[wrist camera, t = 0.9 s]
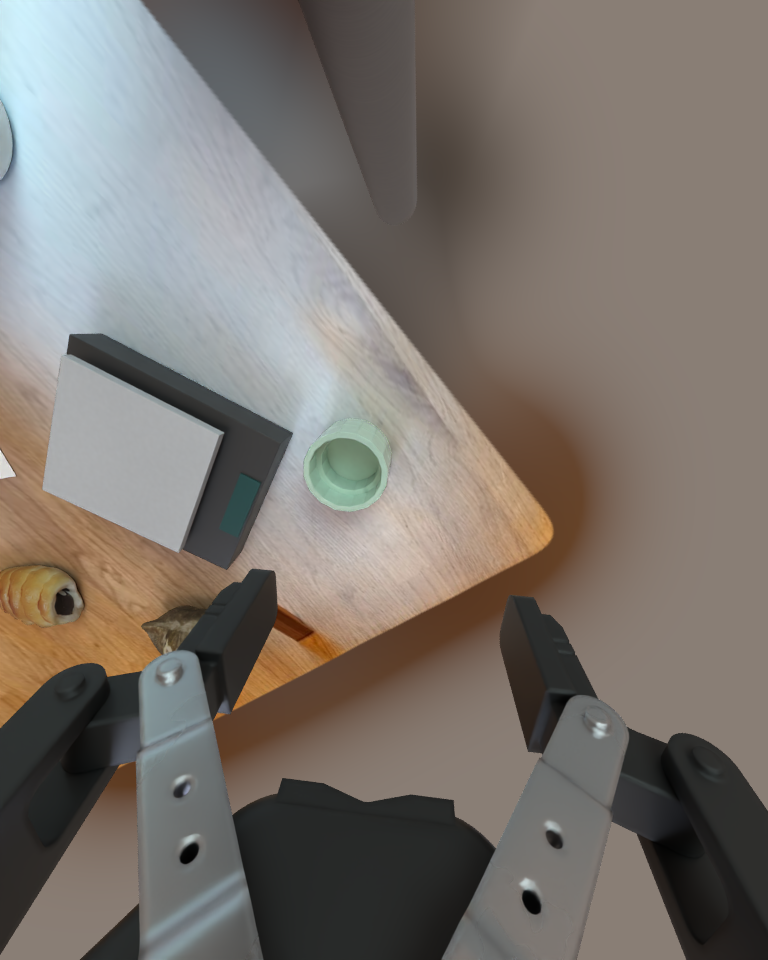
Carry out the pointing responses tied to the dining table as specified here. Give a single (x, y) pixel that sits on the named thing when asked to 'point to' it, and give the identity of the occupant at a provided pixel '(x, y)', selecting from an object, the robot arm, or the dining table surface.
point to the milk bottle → (5, 142)
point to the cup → (348, 465)
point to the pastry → (39, 595)
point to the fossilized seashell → (172, 627)
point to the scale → (158, 451)
